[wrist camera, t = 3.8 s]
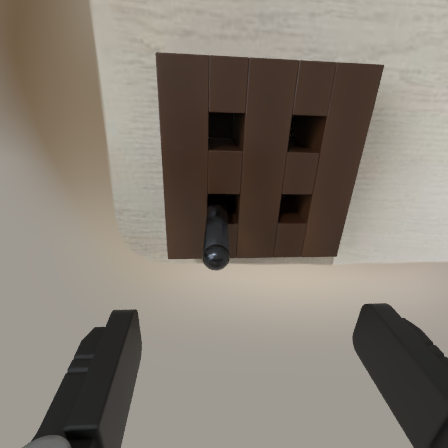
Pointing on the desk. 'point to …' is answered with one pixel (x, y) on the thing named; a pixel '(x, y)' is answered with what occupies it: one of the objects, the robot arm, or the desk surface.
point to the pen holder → (262, 150)
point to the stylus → (216, 233)
